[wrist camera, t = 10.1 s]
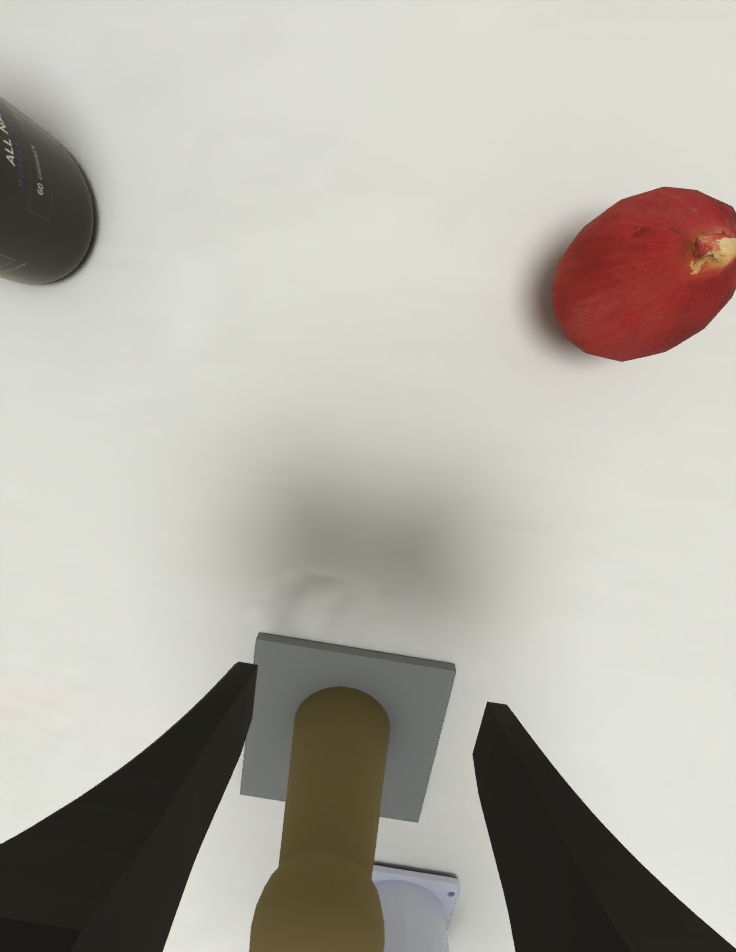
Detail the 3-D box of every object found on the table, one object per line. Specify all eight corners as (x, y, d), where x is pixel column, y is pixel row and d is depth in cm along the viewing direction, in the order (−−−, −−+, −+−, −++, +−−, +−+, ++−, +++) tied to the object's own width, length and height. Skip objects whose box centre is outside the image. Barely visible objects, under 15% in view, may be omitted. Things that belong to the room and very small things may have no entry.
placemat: (417, 812, 26) (417, 822, 26) (243, 785, 26) (239, 794, 26) (454, 664, 23) (456, 671, 23) (259, 632, 23) (256, 639, 23)
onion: (615, 205, 17) (802, 63, 10) (671, 316, 18) (880, 267, 11) (503, 286, 18) (592, 215, 11) (561, 387, 19) (681, 390, 12)
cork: (275, 735, 24) (192, 1010, 14) (327, 669, 23) (281, 916, 12) (354, 780, 25) (334, 1077, 14) (409, 718, 24) (432, 994, 13)
